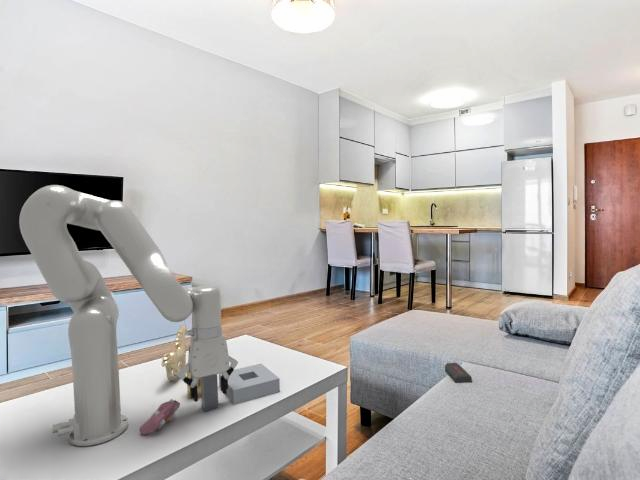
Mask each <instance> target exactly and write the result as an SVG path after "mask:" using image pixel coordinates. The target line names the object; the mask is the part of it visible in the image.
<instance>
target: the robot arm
mask: <svg viewBox="0 0 640 480" xmlns="http://www.w3.org/2000/svg"><path fill="white" fill-rule="evenodd" d="M18 224H19V230H20V234H21V236H22V239H23V241H24V243H25V245H26V247H27V249H28V250H29V252H30V254H31V256H32V258H33V259H34V263H35V264H36V266H37V267H38V269H39V271H40V273H41V275H42V277H43V279H44V281H45V282H46V284H47V286H48V288H49V290H50V293H51V294H52V296H53V297H55V299H56V300H58V301H60V302H63V303H68V305H69V307H70V309H71V310H72V311H71V312H73V314H72V316H71V318H70V320H69V322H68V329H67V333H68V334H67V335H68V342H69V349H70V356H71V369H72V372H71V373H72V384H73V399H74V400H73V402H74V404H73V405H74V414H73V418H70V419H68V421H64V422H59V423H54V424H52V434H56V433H57V436H59V437H60V436H64V435H66V434H68V435H67V438H68V439H67V440H68V442H69V444H71V445H74V446H78V447H88V446H89V447H90V446H95V445H99V444H103V443H106V442H109V441H110V440H113V439H115V438H117V437H118V436H119V435H121V434H122V433H124V432H125V431H126V429H127V428H128V426H129V419H128V417H127V415H124V414H122V412H121V411H122V410H121V409H122V408H121V407H122V406H121V390H120V367H119V365H120V364H119V354H118V353H119V352H118V338H117V323H118V319H119V314H120V313H119V312H120V311H119V307H118V304H117V303H116V301H115V299H114V297H113V294H112V293H111V291H110V289H109V287H108V285H107V283H106V281H105V279H104V278H103V276H102V274H101V273H100V270H99V269H98V268H97V266H95V265H94V263H92V262H90V261H88V260H84V257H83V256H82V254H81V253H80V251H79V249H78V246H77V244H76V241H74V239H73V237H72V236H71V234H70V232H69V230H68V227H67V225H68V224H69V225H73V226H79V227H82V228H85V229H91V230H94V231H100V232H101V234H102V235H103V237H104V238H105V239H106V240H107V242H108V243H109V244H110V246H111V247H112V248H113V250H114V251H115V252H116V253H117V255H118V256H119V258H120V259H121V260H122V262H123V264H124V265H125V266H126V268H127V269H128V270H129V273H130V274H131V276H133V277H134V279H135V280H136V281H137V282H138V284H139V286H141V287H140V288H141V289H143V292H145V294H146V295H147V297H148V298H149V299H150V301H151V302H152V304H153V305H154V306H155V307H156V309H157V310H158V312H159V313H160V314H161V316H162V317H163V318H164V319H165V320H167V321H169V322H172V323H180V322H184V321H186V320H187V319H188V318H189V317H190V316H191V325H192V326H191V328H190V329H188V330H187V335H186V336H187V337H188V336H190V339H189V344H188V345H189V346H188V355H187V356H188V359H187V360H188V361H187V362H186V364H185V366H184V367H183V368H182V369H181V370H179V371H178V373H177V375H176V376H177V377H178V378H179V379H180V380H181V381H183V382H184V383H185V384H186V385H187V384H188V385H189V386H190V396H191V398H193V399H192V400H193V401H194V403H196V402H198V401H199V398H198V391H197V386H196V383H197V380H198V378H202V377H207V376H211V375H215V374H217V375H219V374H220V373H221V374H222V376H221V378H220V381H221V387H220V391H221V393H223V395H226V394H227V391H226V389H228V379H229V376H230V375H231V373H232V372H233V371H234V370H235V369H236V367H237V366H238V364H239V361H238V360H237V359H235V358H234V357H232V356H231V355H229V350H228V349H229V347H228V344H227V343H228V342H227V338H226V335H225V334H224V333H223V331H222V330H223V329H222V305H221V302H222V301H221V290H220V288H219V286H216V285H212V284H209V285H200V286H199V285H198V286H195V287H194V286H183V285H182V284H181V283H180V281H179V280H178V278H177V277H176V276H175V275H174V273H173V271H172V269H171V268H170V266H169V265H168V263H167V262H166V259H165V257H164V255H163V253H162V251H161V249H160V247H159V246H158V245H157V243H156V242H155V241H154V239H153V238H152V237H151V236H150V234H149V232H148V231H147V230H146V228H145V227H144V226H143V223H142V222H141V221H140V219H139V218H138V216H136V214H135V213H134V210H132V208H131V206H129V205H128V204H127V203H125V202H123V201H121V200H111V199H107V198H103V197H98V196H96V195H95V196H94V195H92V194H88V193H84V192H81V191H77V190H74V189H72V188H70V187H67V186H64V185H59V184H50V185H45V186H43V187H40V188H38V189H37V190H36V191H35V192H33V193H32V194H31V195H30V196H29V197H28V199H27V200H26V201H25V202H24V204H23V206H22V207H21V210H20V213H19V221H18ZM188 370H189V372H190V374H191V377H190V378H188V377H187V375H186V374H187V371H188Z"/></svg>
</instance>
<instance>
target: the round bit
mask: <svg viewBox="0 0 640 480" xmlns="http://www.w3.org/2000/svg"><path fill="white" fill-rule="evenodd" d="M186 376H187V377H188V378H190V377H191V374H190V372H189V370H188V371H187V372H186ZM196 386H197V391H198V399H201V378H198V380H197V383H196ZM186 389H187V390H186V392H187V393H186V395H187V398H188V399H191V400H194V399H193V398H191V396H190V386H189V385H188V384H186Z"/></svg>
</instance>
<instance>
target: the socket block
mask: <svg viewBox="0 0 640 480" xmlns="http://www.w3.org/2000/svg"><path fill="white" fill-rule="evenodd" d="M221 376H222V374H221V373H220V374H218V386H219V387H220V388H221V381H220V378H221ZM280 380H281V379H280V377H278V376H277V375H276V374H275V373H274V372H272V370H270V369H269V368H267V366H265V365H264V364H263V363H258V364H255V365H254V364H253V365H249V366H248V365H247V366H245V367H240V368H234V371H233V372H232V373H231V375H230V376H229V379H228V389H226V391H227V394H225V396H226V397H227V398H228V399H229V400H230V402H231V403H232V404H233V405H236V404H240V403H243V402H249V401H251V400H254V399H255V400H256V399H259V398H262V397H265V396H269V395H273V394H276V392H277V393H279V392H281V390H280V389H281V386H280V382H281V381H280Z"/></svg>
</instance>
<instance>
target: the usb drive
mask: <svg viewBox="0 0 640 480" xmlns="http://www.w3.org/2000/svg"><path fill="white" fill-rule="evenodd" d="M443 367H444V372H445V373H446V375H447V376H448V377H449V378H450V379H451V381H452V382H453V383H455V384H460V383H461V384H463V383H466V384H468V383H469V384H470V383H473V381H472V380H473V379H472V376H471V374H470V373H468V371H466V369H464V368H463V367H462V365H460V364H458V363H457V362H444V363H443Z"/></svg>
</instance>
